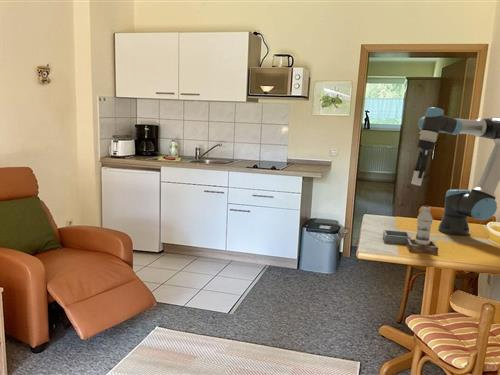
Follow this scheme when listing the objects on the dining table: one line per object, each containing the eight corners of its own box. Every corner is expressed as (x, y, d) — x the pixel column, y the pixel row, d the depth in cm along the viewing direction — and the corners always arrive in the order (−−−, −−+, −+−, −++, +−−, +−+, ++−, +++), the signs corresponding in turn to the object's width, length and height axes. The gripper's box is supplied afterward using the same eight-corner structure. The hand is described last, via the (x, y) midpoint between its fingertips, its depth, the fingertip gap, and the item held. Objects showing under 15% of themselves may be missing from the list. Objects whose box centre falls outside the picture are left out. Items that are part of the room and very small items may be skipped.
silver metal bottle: (415, 246, 210) (419, 204, 207) (430, 248, 207) (435, 206, 204) (412, 249, 205) (416, 206, 202) (428, 252, 202) (432, 208, 198)
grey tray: (407, 238, 223) (407, 231, 222) (410, 244, 213) (410, 237, 212) (382, 236, 225) (383, 229, 225) (384, 242, 215) (385, 235, 214)
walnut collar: (432, 247, 210) (433, 240, 210) (437, 254, 199) (438, 247, 199) (406, 244, 212) (406, 238, 212) (409, 251, 202) (410, 244, 201)
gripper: (415, 140, 223) (404, 182, 225) (422, 137, 198) (410, 183, 200) (431, 143, 221) (420, 185, 223) (440, 141, 197) (427, 187, 199)
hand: (415, 184), depth 212 cm, fingers open, 13 cm apart
